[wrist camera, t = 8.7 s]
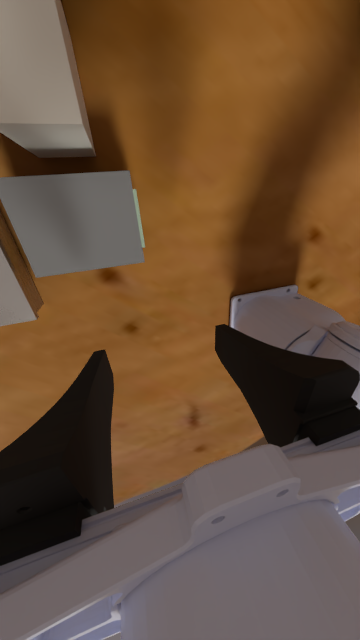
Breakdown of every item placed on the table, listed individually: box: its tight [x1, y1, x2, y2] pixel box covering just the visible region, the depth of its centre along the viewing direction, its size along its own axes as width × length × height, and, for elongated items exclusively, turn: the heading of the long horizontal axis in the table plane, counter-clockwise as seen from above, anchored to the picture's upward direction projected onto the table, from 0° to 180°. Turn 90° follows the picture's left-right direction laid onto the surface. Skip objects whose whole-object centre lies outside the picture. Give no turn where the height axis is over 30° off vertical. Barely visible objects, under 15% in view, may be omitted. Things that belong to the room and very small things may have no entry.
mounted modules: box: [0, 171, 145, 278], centre depth 12 cm, size 8×21×4 cm, turn 5°
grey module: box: [0, 0, 96, 158], centre depth 11 cm, size 4×6×7 cm
